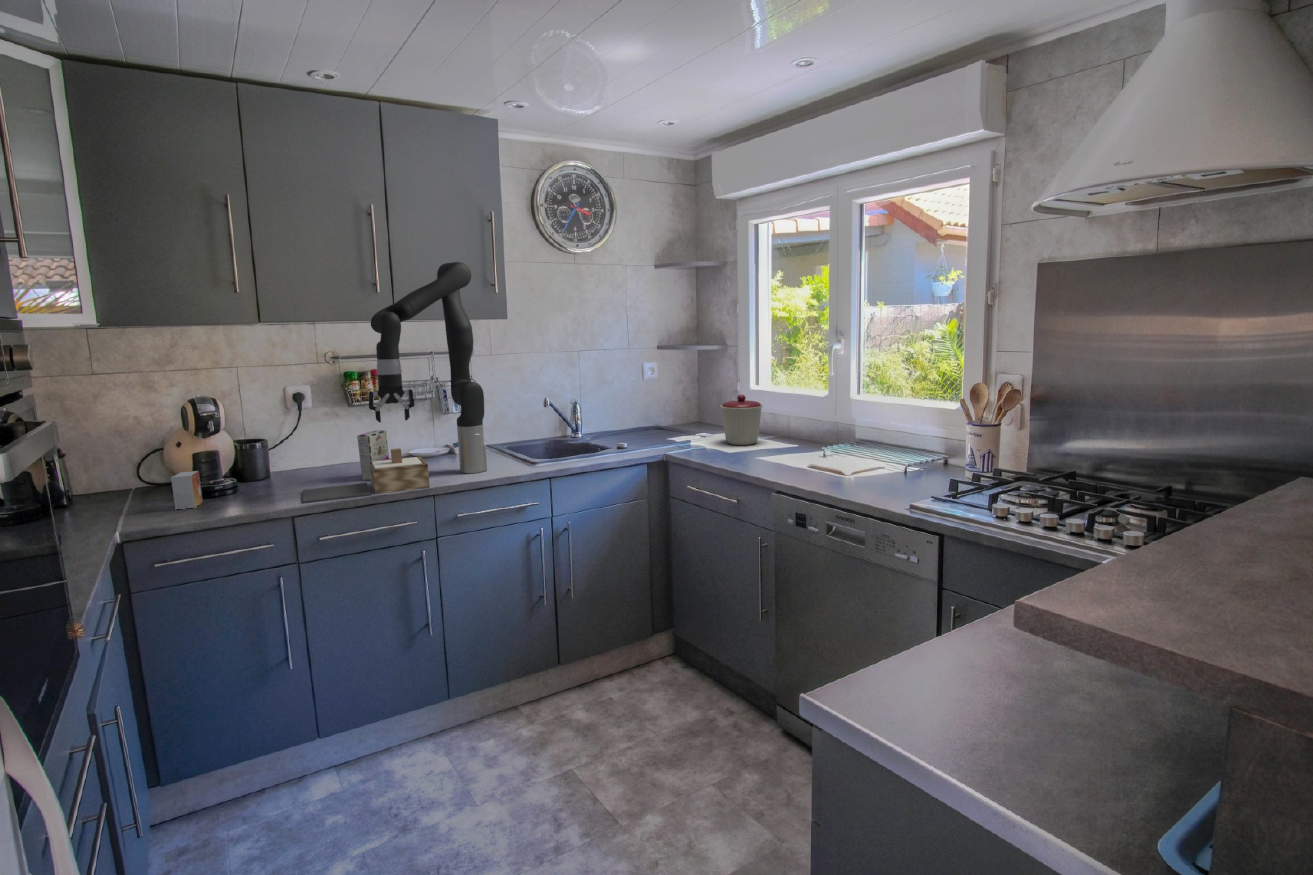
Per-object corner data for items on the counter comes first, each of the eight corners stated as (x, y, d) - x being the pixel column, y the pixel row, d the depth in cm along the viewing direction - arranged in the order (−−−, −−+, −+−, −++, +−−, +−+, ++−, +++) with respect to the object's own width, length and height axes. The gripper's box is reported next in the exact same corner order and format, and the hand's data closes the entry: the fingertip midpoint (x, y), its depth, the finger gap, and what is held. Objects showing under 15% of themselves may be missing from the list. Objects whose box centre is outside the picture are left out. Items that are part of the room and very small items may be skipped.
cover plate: (417, 460, 257) (415, 444, 256) (422, 466, 245) (421, 450, 244) (372, 465, 250) (370, 448, 249) (375, 471, 239) (374, 454, 238)
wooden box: (422, 478, 260) (420, 456, 258) (429, 487, 245) (427, 464, 244) (371, 484, 252) (369, 461, 251) (375, 493, 238) (373, 469, 237)
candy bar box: (378, 473, 270) (374, 429, 267) (390, 473, 269) (387, 430, 266) (360, 480, 259) (356, 434, 257) (373, 480, 258) (369, 435, 256)
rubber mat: (366, 484, 253) (366, 482, 253) (371, 495, 237) (371, 493, 237) (302, 491, 244) (302, 489, 244) (302, 503, 228) (302, 501, 228)
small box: (195, 508, 225) (191, 475, 223) (175, 510, 223) (170, 477, 222) (203, 502, 233) (199, 470, 231) (183, 504, 231) (179, 471, 229)
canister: (770, 445, 307) (770, 395, 304) (730, 448, 302) (730, 397, 298) (751, 438, 324) (751, 391, 320) (714, 441, 319) (713, 393, 315)
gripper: (410, 371, 249) (413, 418, 252) (365, 373, 243) (369, 421, 246) (413, 372, 242) (416, 420, 245) (367, 374, 236) (371, 424, 239)
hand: (393, 421), depth 245 cm, fingers open, 8 cm apart
